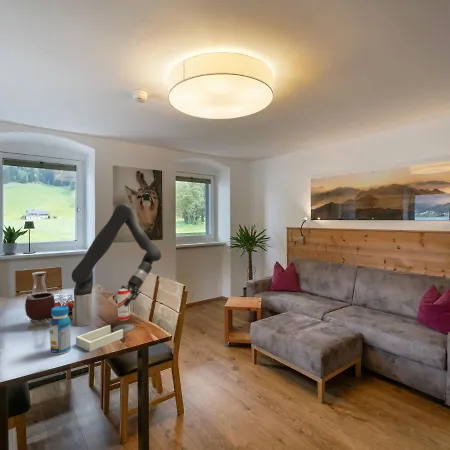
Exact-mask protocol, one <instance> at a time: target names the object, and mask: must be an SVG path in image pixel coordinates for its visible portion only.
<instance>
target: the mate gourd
mask: <svg viewBox="0 0 450 450" xmlns="http://www.w3.org/2000/svg"><path fill="white" fill-rule="evenodd" d="M23 296H24V297H25V302H24V309H25V314H26V316H27V317H28V318H29V319H30V320H32V321H33V320H34V321H36V322H33V323H31V324H29V325H28V326H27V330H28V331H33V332H34V331H42V330H46V329H48V328H49V329H50V327H51V326H50V322H51V320H45V319H47V318H50V317H52V315H51V310H52V308H54V307H56V306H55V305H56V304H55V297H54V293H53V292H38V293H33V294H25V293H23V294H22V297H23Z"/></svg>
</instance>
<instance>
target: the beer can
mask: <svg viewBox="0 0 450 450" xmlns="http://www.w3.org/2000/svg"><path fill="white" fill-rule="evenodd" d="M117 291H118V292H117V293H116V294H117V298H116V300H117V303H116V304H117V319H118V320H119V321H127V320H129V319H130V317H131V309H130V308H131V305H130V303H131V302H130V303H129V305H128V306H127V307H126V306H124V303H125V301H126V300H127V299H128V296H129V291H128V289H121V288H120V289H118V290H117Z"/></svg>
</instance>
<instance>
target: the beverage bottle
mask: <svg viewBox="0 0 450 450" xmlns="http://www.w3.org/2000/svg"><path fill="white" fill-rule="evenodd" d="M51 317H52V318H51V320H50V321H51V322H50V326H51V327H49V341H50V343H49V344H50V354H51V355H54V356H55V355H56V356H58V355H63V354H66V353H68V352H69V351H71V349H72V345H71V343H72V342H71V341H72V340H71V339H72V337H71V336H72V333H71V332H72V331H71V330H72V326H71V318H70V317H69V306H67V305H57V306H55V307H54V308H52V310H51Z"/></svg>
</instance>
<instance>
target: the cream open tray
mask: <svg viewBox="0 0 450 450" xmlns="http://www.w3.org/2000/svg"><path fill="white" fill-rule="evenodd" d="M111 328H112V327H111V324H108V325H105V326H103V327H100V328H97V329H94V330H91V331H89V332H85V333H83V334H81V335H78V336H75V346H77V347H79V348H81V349H82V350H86V351H88V352H92V351H95V350H97V349H100V348H102V347H104V346H106V345H108V344H111V343H113V342H117V341H119V340H121V339H123V338H124V333H123V330H122V329H121V330H118V331H116V332H114V331H113V332H112V330H111Z"/></svg>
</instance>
